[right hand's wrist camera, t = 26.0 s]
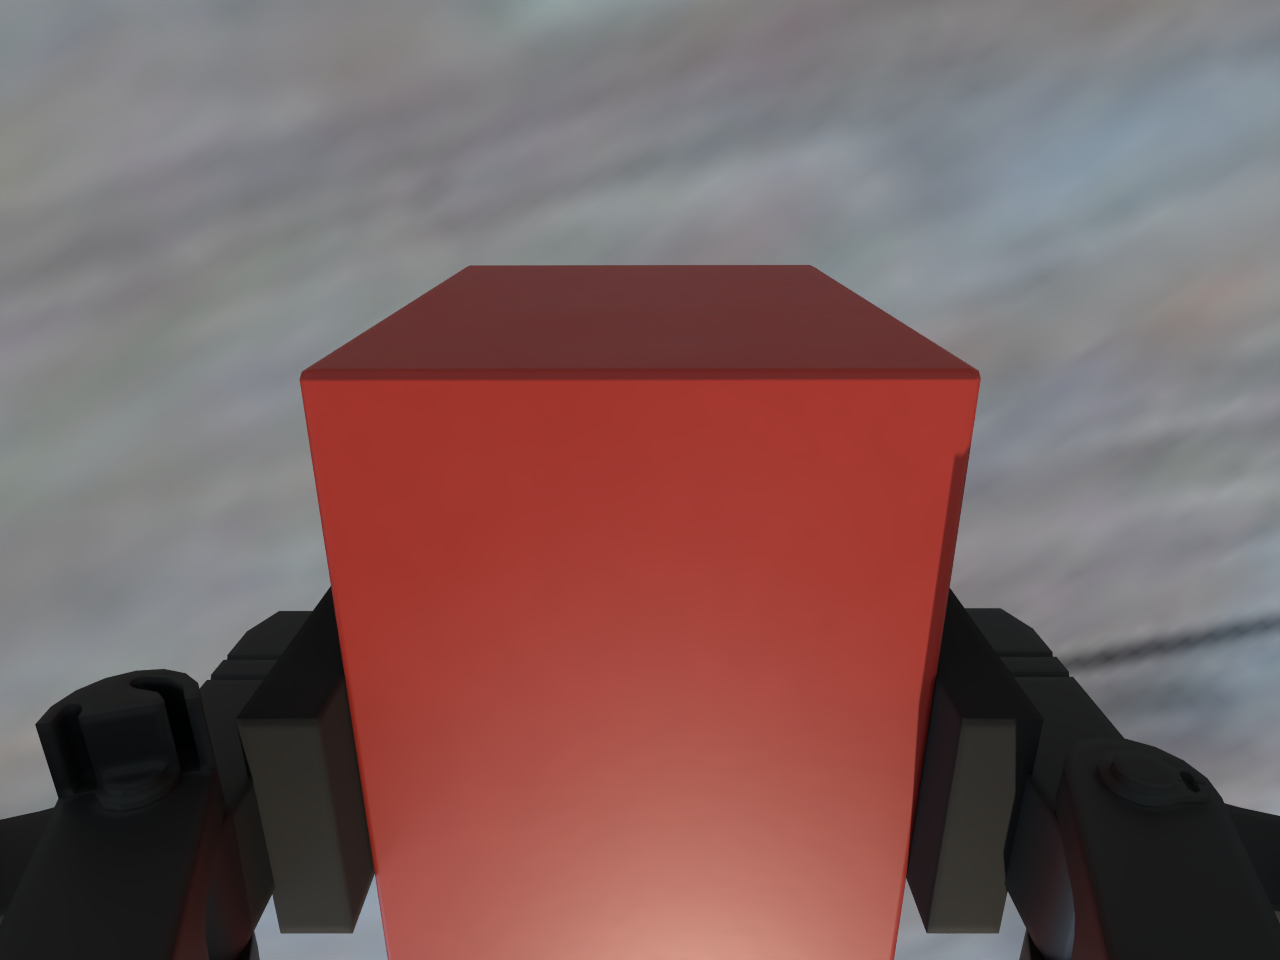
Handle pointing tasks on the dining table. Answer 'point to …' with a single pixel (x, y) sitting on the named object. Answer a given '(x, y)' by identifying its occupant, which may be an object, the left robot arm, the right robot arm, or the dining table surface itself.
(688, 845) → the block
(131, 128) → the dining table surface
